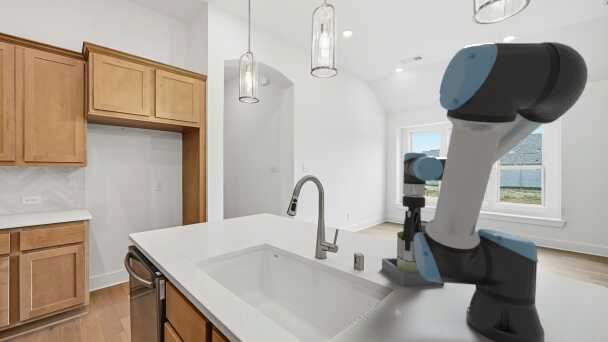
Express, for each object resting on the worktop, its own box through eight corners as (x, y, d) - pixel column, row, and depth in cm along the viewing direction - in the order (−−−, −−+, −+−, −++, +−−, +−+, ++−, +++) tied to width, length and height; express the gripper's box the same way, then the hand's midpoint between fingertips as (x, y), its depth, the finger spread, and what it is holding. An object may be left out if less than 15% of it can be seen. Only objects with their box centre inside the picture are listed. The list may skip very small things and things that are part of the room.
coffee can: (393, 267, 101) (394, 230, 101) (421, 269, 100) (422, 231, 100) (399, 278, 91) (401, 237, 91) (431, 280, 90) (433, 239, 90)
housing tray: (444, 283, 90) (444, 272, 90) (403, 286, 87) (404, 274, 87) (417, 267, 104) (417, 257, 104) (381, 268, 102) (382, 258, 102)
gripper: (418, 199, 83) (415, 267, 83) (431, 194, 104) (429, 249, 104) (393, 197, 87) (391, 262, 87) (410, 193, 108) (409, 245, 108)
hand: (412, 255), depth 95 cm, fingers open, 13 cm apart
